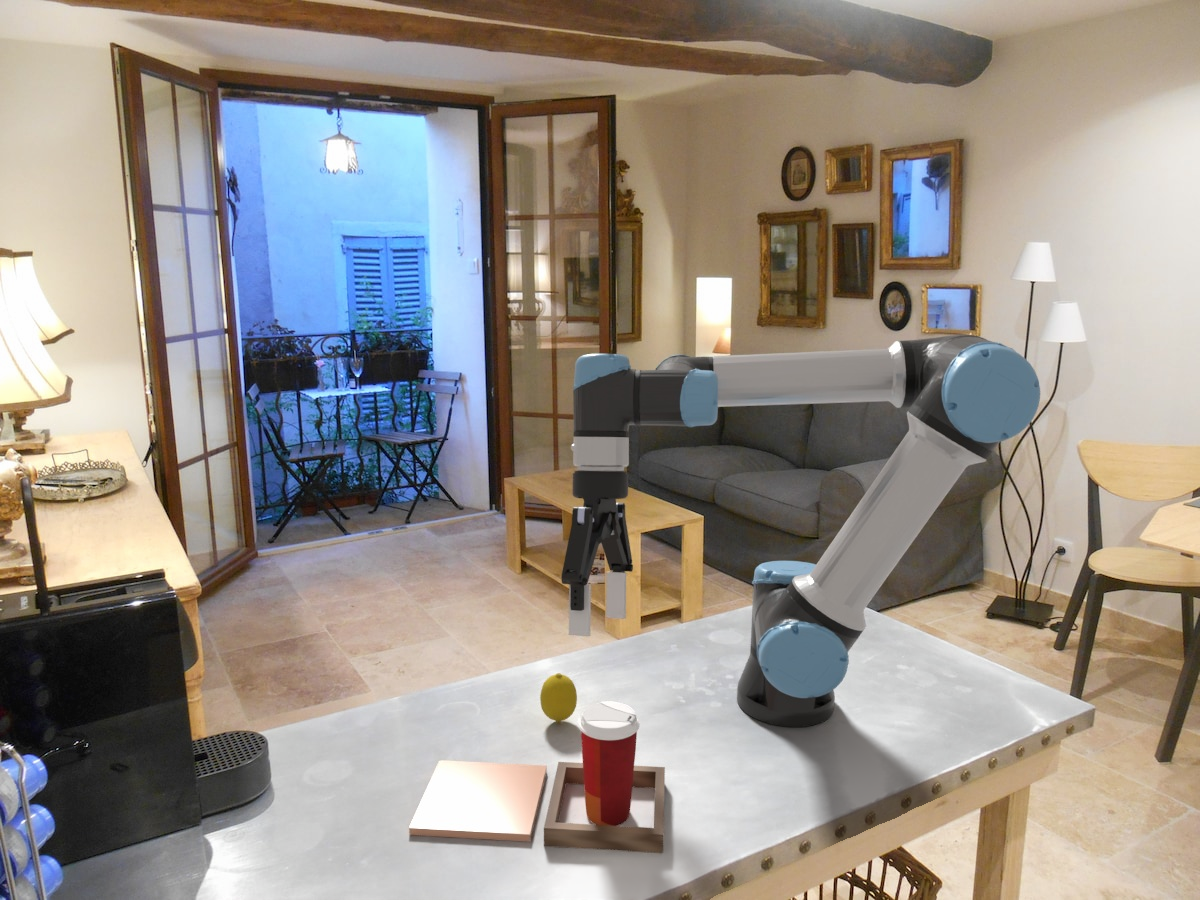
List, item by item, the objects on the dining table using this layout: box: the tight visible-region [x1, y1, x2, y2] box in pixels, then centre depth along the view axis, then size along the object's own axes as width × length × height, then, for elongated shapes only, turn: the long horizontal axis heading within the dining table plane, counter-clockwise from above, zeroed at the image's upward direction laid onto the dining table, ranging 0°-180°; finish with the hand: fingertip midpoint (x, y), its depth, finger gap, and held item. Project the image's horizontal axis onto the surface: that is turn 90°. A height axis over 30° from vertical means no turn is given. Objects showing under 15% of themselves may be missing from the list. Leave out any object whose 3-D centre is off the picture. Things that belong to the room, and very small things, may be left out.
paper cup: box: [576, 700, 641, 826], centre depth 117 cm, size 8×8×14 cm
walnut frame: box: [543, 761, 666, 854], centre depth 118 cm, size 14×14×2 cm
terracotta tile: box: [408, 759, 548, 842], centre depth 120 cm, size 15×15×1 cm
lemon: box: [539, 672, 578, 723], centre depth 139 cm, size 6×6×8 cm
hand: (598, 626), depth 125 cm, fingers open, 13 cm apart
